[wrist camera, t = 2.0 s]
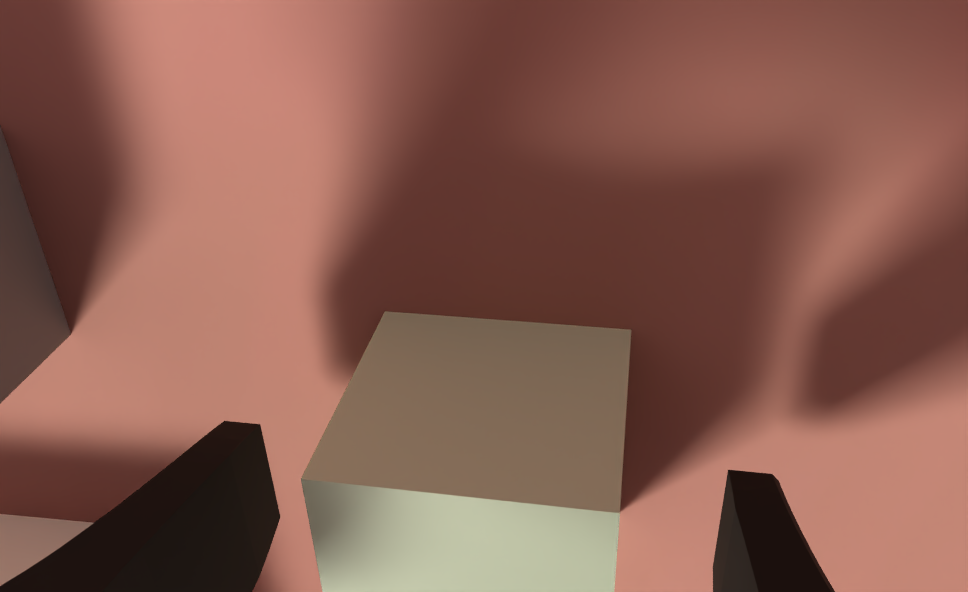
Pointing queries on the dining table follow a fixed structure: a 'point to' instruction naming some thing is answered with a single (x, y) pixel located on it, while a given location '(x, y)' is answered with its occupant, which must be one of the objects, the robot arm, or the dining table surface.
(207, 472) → the robot arm
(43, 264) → the gray cube
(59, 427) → the dining table surface
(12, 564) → the offwhite block
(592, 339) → the sage cube
